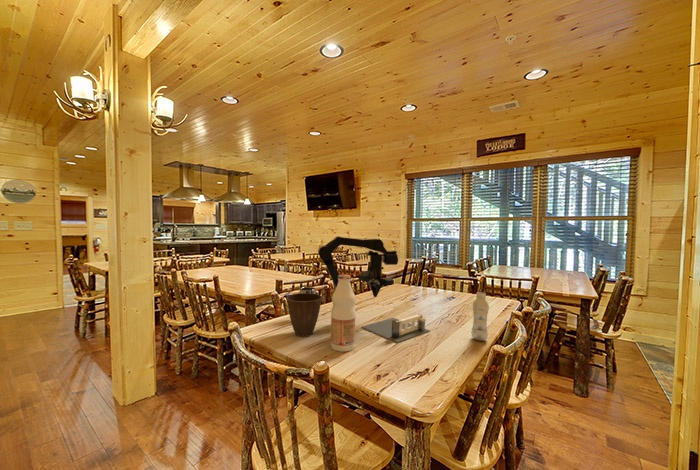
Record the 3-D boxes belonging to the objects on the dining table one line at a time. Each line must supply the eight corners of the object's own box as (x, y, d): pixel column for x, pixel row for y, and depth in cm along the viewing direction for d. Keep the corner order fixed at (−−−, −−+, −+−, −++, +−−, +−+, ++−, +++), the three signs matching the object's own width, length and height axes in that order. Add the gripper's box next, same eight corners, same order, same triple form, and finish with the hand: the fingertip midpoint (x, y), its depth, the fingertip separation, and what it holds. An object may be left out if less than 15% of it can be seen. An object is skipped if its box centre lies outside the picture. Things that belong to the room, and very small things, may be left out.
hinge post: (395, 340, 120) (395, 322, 119) (389, 338, 122) (390, 320, 122) (400, 338, 121) (400, 321, 121) (394, 336, 124) (395, 319, 123)
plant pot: (279, 333, 124) (279, 296, 124) (306, 325, 135) (307, 291, 135) (300, 343, 114) (301, 303, 114) (328, 333, 125) (328, 297, 125)
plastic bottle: (486, 338, 124) (488, 292, 124) (488, 344, 118) (490, 295, 117) (470, 335, 126) (472, 290, 126) (471, 341, 120) (473, 294, 119)
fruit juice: (327, 350, 108) (328, 276, 108) (334, 340, 118) (336, 272, 117) (351, 353, 106) (353, 278, 105) (357, 343, 115) (358, 274, 114)
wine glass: (308, 321, 140) (308, 291, 140) (295, 318, 144) (296, 288, 144) (318, 317, 147) (318, 288, 146) (306, 314, 151) (306, 286, 151)
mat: (397, 343, 117) (397, 342, 117) (361, 327, 134) (361, 326, 134) (429, 331, 131) (429, 330, 131) (393, 318, 148) (393, 317, 148)
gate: (399, 335, 122) (399, 321, 122) (396, 334, 123) (396, 320, 123) (422, 327, 132) (422, 315, 132) (419, 326, 133) (419, 314, 133)
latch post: (422, 333, 128) (422, 320, 128) (417, 331, 130) (418, 318, 130) (425, 332, 130) (425, 319, 130) (420, 330, 132) (421, 317, 131)
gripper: (350, 263, 141) (349, 295, 141) (377, 268, 126) (376, 303, 127) (367, 262, 148) (366, 292, 148) (394, 266, 134) (393, 300, 134)
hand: (375, 296), depth 139 cm, fingers closed
